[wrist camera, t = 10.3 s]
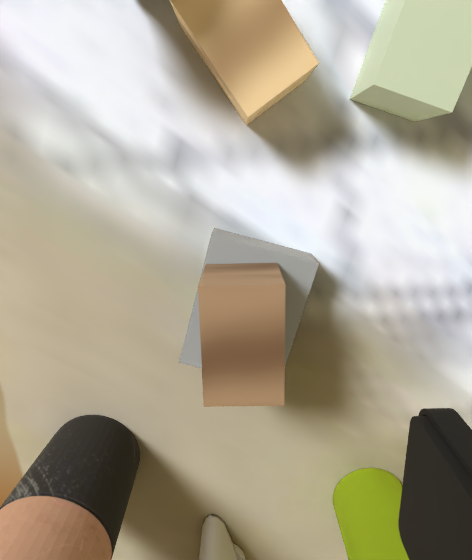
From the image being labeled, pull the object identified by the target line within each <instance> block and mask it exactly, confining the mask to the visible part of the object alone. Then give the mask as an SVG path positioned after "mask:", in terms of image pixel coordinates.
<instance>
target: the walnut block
mask: <svg viewBox="0 0 472 560" xmlns="http://www.w3.org/2000/svg"><path fill="white" fill-rule="evenodd" d="M285 288H286V285H285V282H284V280H283V277H282V274H281V272H280V269H279V266H278V264H277V263H237V264H206V265H205V268H204V271H203V273H202V276H201V279H200V282H199V285H198V299H199V319H200V339H201V359H202V379H203V399H204V407H211V406H281V405H284V391H285Z"/></svg>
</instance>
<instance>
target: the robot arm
mask: <svg viewBox="0 0 472 560" xmlns="http://www.w3.org/2000/svg"><path fill="white" fill-rule="evenodd" d="M398 525H399V533H400V537H401V541H402V543H403V546H404V548H405V551H406V553H407V555H408V558H409V560H472V430H471V428H470V427H469V426H468V425H467V424H466V422H465V421H464V420H463V419H462V418H461V416H460V415H459V414H458V413H457V412H456V411H455V410H454V409H451V408H437V409H422V410H421V411H420V413H419V416H414V417H412V419H411V421H410V428H409V436H408V445H407V453H406V461H405V470H404V478H403V486H402V495H401V503H400V511H399V520H398Z"/></svg>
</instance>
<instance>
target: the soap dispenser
mask: <svg viewBox="0 0 472 560" xmlns="http://www.w3.org/2000/svg"><path fill="white" fill-rule="evenodd" d="M401 495H402V485H401V483H400V482H399V480H398V479H397V478H396V477H395V476H394V475H392V474H391V473H389V472H387V471H385V470H382V469H377V468H365V469H360V470H356V471H354V472H352V473H350V474H348V475H347V476H345V477H344V478H343V479H342V480H341V481H340V482H339V483H338V485H337V486H336V488H335V491H334V494H333V505H334V509H335V512H336V516H337V519H338V523H339V527H340V530H341V534H342V537H343V541H344V545H345V548H346V552H347V556H348V559H349V560H409V558H408V555H407V553H406V551H405V548H404V546H403V543H402V541H401V537H400V533H399V525H398V520H399V511H400V503H401Z"/></svg>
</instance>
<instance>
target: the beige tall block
mask: <svg viewBox="0 0 472 560" xmlns="http://www.w3.org/2000/svg"><path fill="white" fill-rule="evenodd" d="M199 560H245V555H244V553H243V551H242V550H241V549H240V548H239V547H238V546H237V545H235V544H233V541H232V539H231V537H230V534H229V532H228V530H227V527H226V525H225V523H224V521H223V520H222V519H221V518H219V517H218V516H217V515H213V514H211V515H209V516H207V517H206V519H205V521H204V523H203V526H202V535H201V544H200V553H199Z"/></svg>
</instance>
